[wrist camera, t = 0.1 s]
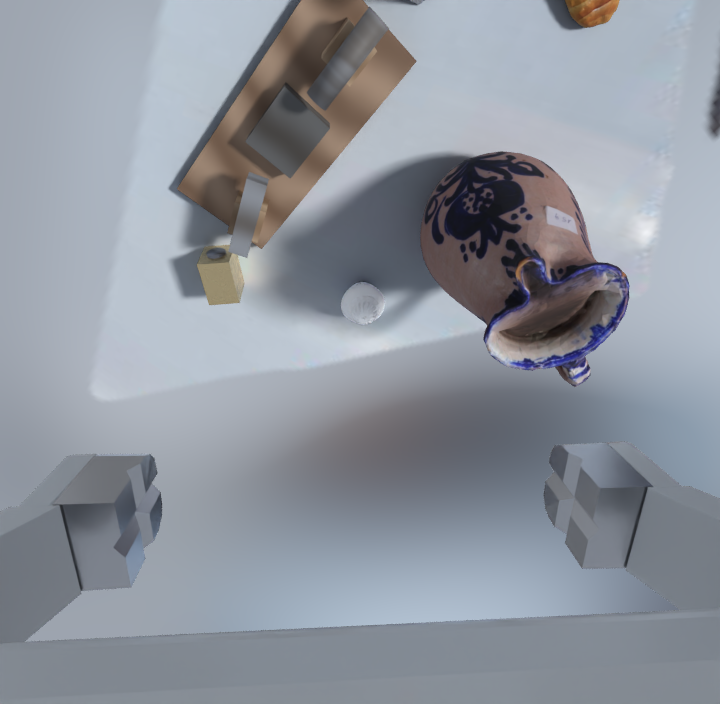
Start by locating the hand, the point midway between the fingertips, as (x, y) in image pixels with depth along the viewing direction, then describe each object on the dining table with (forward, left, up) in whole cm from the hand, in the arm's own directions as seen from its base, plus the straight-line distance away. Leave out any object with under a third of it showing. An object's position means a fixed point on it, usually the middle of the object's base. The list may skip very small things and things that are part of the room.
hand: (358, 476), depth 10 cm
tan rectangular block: (+27, +4, -52) cm, 59 cm away
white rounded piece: (+18, +21, -52) cm, 59 cm away
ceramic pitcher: (-1, +26, -52) cm, 58 cm away
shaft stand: (+7, 0, -52) cm, 53 cm away
